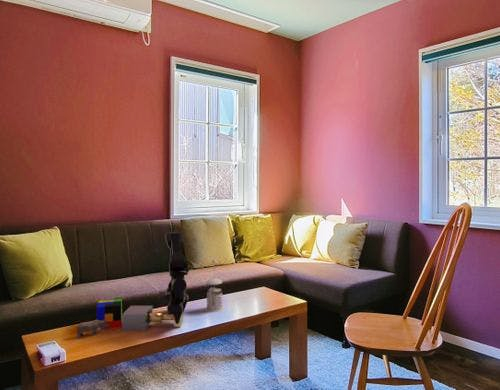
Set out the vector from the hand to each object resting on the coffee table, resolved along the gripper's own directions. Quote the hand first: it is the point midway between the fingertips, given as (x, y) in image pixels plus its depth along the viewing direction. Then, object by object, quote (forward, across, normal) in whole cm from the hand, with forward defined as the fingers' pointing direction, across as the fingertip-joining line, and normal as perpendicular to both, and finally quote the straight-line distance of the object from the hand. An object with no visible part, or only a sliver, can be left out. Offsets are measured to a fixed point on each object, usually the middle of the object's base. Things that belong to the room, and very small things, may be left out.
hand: (178, 321), depth 176 cm
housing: (+2, 0, -18) cm, 18 cm away
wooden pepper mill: (+1, 0, -7) cm, 7 cm away
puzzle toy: (+2, -1, -31) cm, 31 cm away
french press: (+2, -22, +14) cm, 26 cm away
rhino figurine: (+2, +10, -34) cm, 36 cm away
